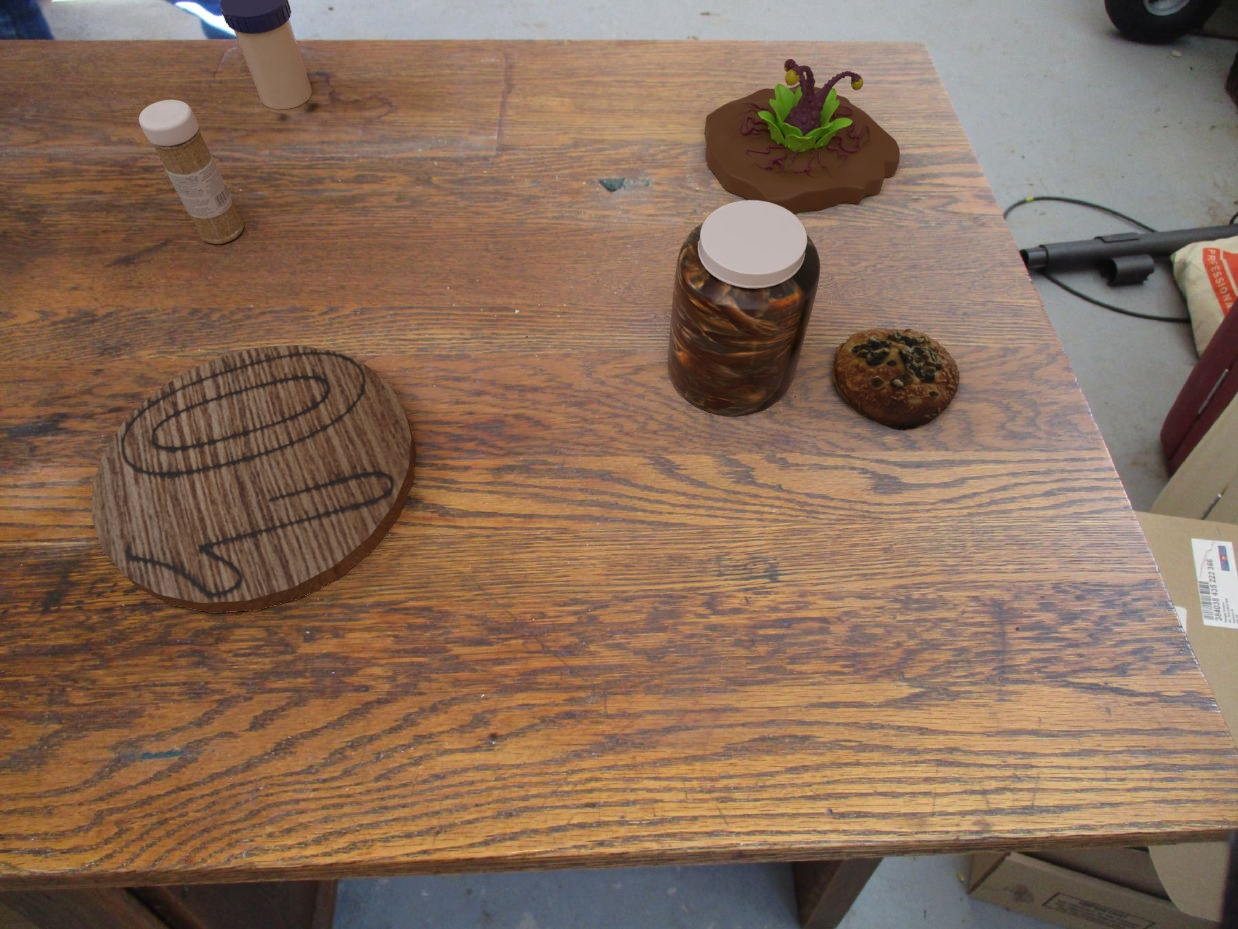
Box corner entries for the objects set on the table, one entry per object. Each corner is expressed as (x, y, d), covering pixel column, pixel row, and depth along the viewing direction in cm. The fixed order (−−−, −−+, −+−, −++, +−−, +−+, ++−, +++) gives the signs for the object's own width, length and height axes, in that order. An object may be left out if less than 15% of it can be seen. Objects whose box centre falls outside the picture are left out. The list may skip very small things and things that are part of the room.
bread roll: (877, 448, 70) (891, 405, 66) (803, 369, 77) (812, 326, 73) (981, 408, 73) (999, 364, 69) (901, 336, 80) (914, 293, 76)
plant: (672, 132, 95) (678, 35, 86) (814, 88, 100) (834, -8, 91) (767, 238, 85) (786, 142, 76) (919, 183, 90) (954, 86, 81)
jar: (811, 407, 73) (852, 280, 60) (681, 424, 72) (695, 299, 59) (775, 311, 79) (805, 178, 67) (655, 325, 78) (663, 193, 66)
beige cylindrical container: (250, 95, 99) (214, 4, 90) (291, 74, 101) (261, -17, 92) (280, 115, 96) (247, 24, 88) (322, 93, 99) (294, 2, 90)
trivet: (458, 535, 66) (454, 522, 64) (126, 669, 59) (113, 659, 58) (367, 325, 78) (361, 310, 76) (85, 417, 72) (73, 404, 70)
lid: (213, 18, 91) (206, 0, 89) (266, -7, 94) (260, -24, 92) (251, 41, 88) (244, 23, 87) (304, 15, 91) (299, -2, 90)
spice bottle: (220, 211, 87) (162, 92, 76) (254, 225, 86) (201, 105, 75) (189, 238, 85) (125, 118, 73) (224, 252, 84) (164, 133, 72)
